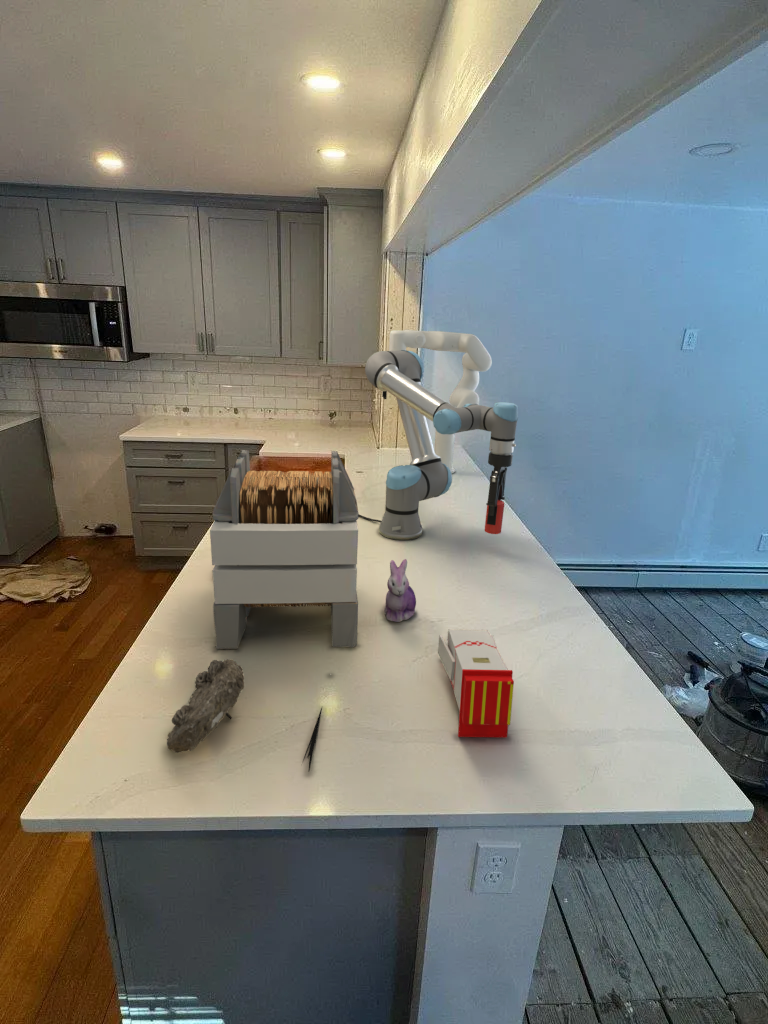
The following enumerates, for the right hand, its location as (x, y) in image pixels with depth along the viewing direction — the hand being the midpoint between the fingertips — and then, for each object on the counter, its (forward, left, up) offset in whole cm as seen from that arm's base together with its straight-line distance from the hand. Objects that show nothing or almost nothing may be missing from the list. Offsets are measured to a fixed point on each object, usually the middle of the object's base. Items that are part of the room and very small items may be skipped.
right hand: (395, 398), depth 255 cm
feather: (+160, -56, -36) cm, 173 cm away
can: (+88, +12, -30) cm, 94 cm away
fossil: (+155, -76, -36) cm, 177 cm away
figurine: (+124, -30, -36) cm, 133 cm away
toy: (+158, -24, -36) cm, 163 cm away
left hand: (+88, +11, -26) cm, 93 cm away
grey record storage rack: (+119, -58, -36) cm, 137 cm away
